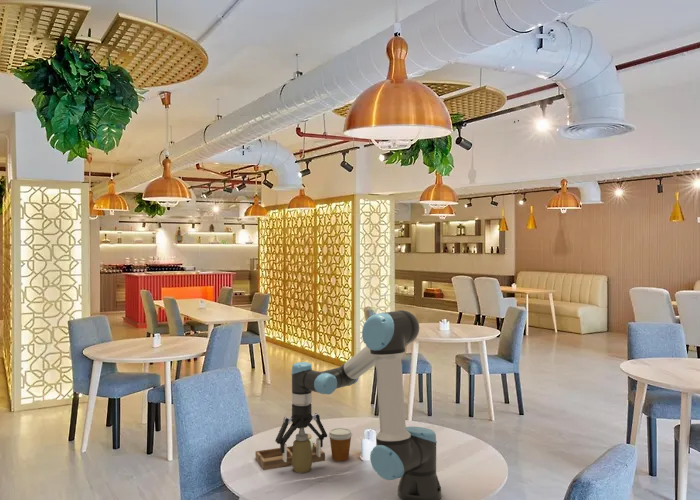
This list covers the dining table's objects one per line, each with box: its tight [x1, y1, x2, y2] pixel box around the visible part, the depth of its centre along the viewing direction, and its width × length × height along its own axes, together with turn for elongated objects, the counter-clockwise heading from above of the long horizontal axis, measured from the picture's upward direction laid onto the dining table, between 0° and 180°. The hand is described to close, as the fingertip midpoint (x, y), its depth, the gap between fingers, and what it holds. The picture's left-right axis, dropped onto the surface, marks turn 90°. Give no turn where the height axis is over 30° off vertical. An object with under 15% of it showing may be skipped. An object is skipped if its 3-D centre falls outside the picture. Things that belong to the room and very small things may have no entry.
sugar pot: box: [305, 432, 314, 454], centre depth 241 cm, size 7×7×9 cm
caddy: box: [255, 442, 326, 471], centre depth 239 cm, size 13×25×4 cm, turn 113°
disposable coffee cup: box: [328, 427, 353, 462], centre depth 240 cm, size 10×10×12 cm
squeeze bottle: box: [291, 428, 314, 474], centre depth 228 cm, size 8×8×18 cm
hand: (301, 458), depth 228 cm, fingers open, 13 cm apart
